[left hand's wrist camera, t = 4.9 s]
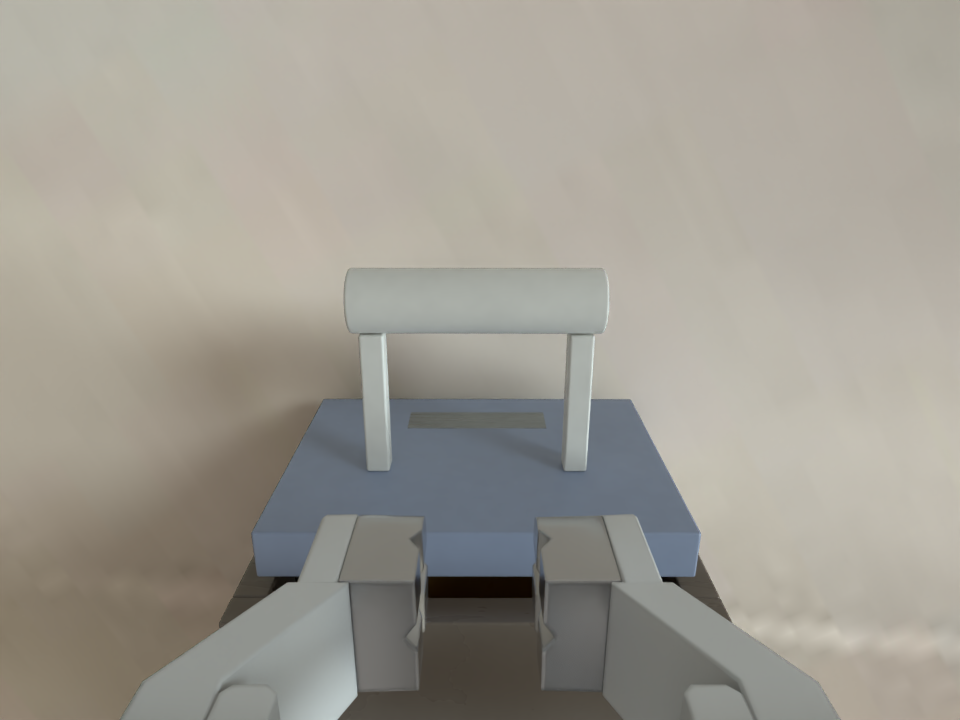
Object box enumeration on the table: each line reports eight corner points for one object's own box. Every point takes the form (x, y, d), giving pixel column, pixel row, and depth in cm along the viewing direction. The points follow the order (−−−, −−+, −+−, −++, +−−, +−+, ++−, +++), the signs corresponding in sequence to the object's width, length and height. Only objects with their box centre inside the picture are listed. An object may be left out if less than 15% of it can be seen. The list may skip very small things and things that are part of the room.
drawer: (309, 235, 20) (218, 302, 13) (645, 236, 20) (733, 302, 13) (355, 770, 28) (313, 993, 21) (598, 770, 28) (639, 993, 21)
